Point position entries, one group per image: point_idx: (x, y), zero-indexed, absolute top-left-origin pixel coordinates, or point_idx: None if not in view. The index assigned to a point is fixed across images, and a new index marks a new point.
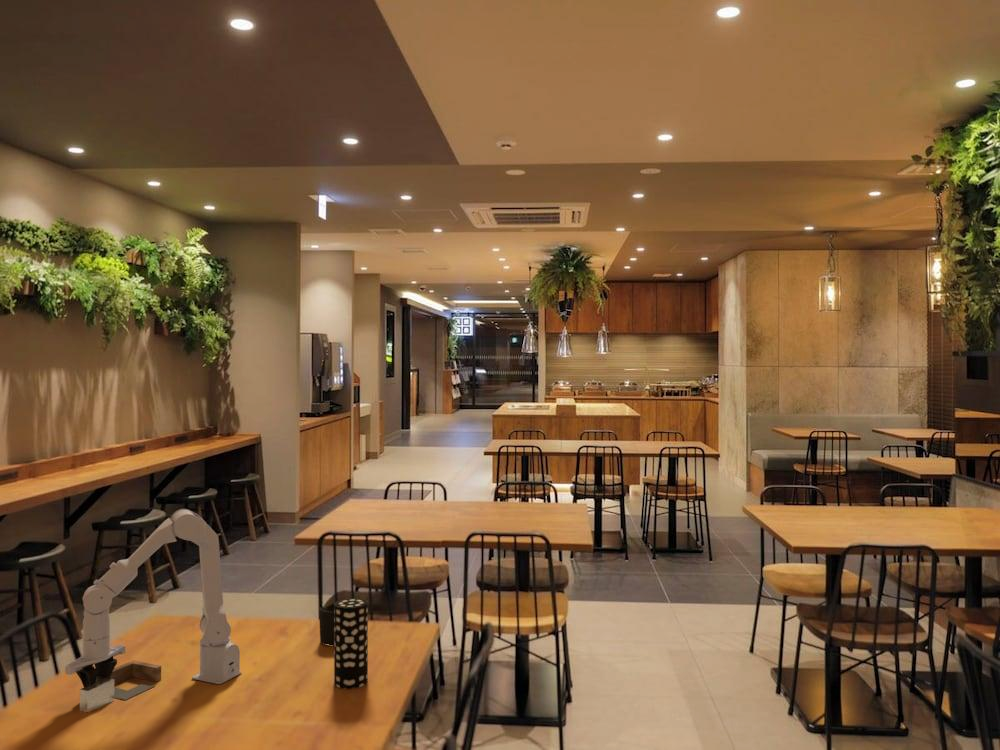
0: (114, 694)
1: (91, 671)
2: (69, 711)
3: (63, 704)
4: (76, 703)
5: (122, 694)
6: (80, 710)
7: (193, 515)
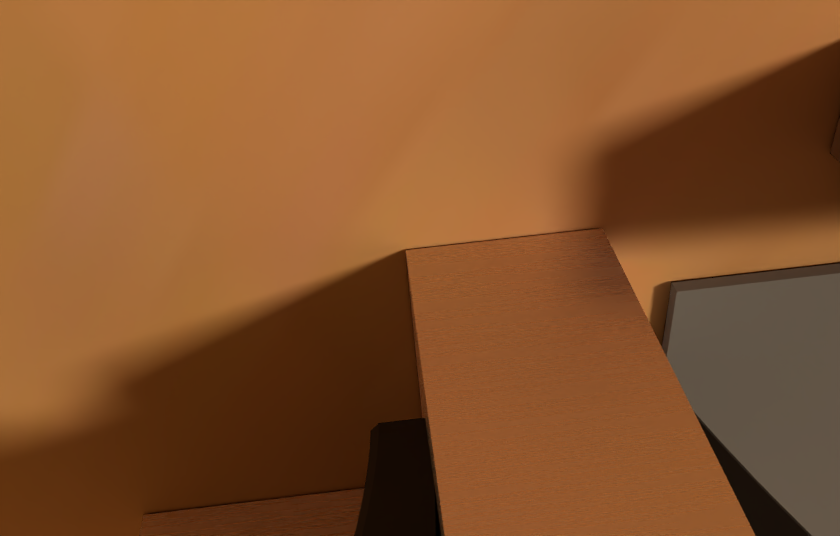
0: None
1: None
2: (32, 429)
3: (62, 107)
4: (249, 267)
5: None
6: (146, 529)
7: None
